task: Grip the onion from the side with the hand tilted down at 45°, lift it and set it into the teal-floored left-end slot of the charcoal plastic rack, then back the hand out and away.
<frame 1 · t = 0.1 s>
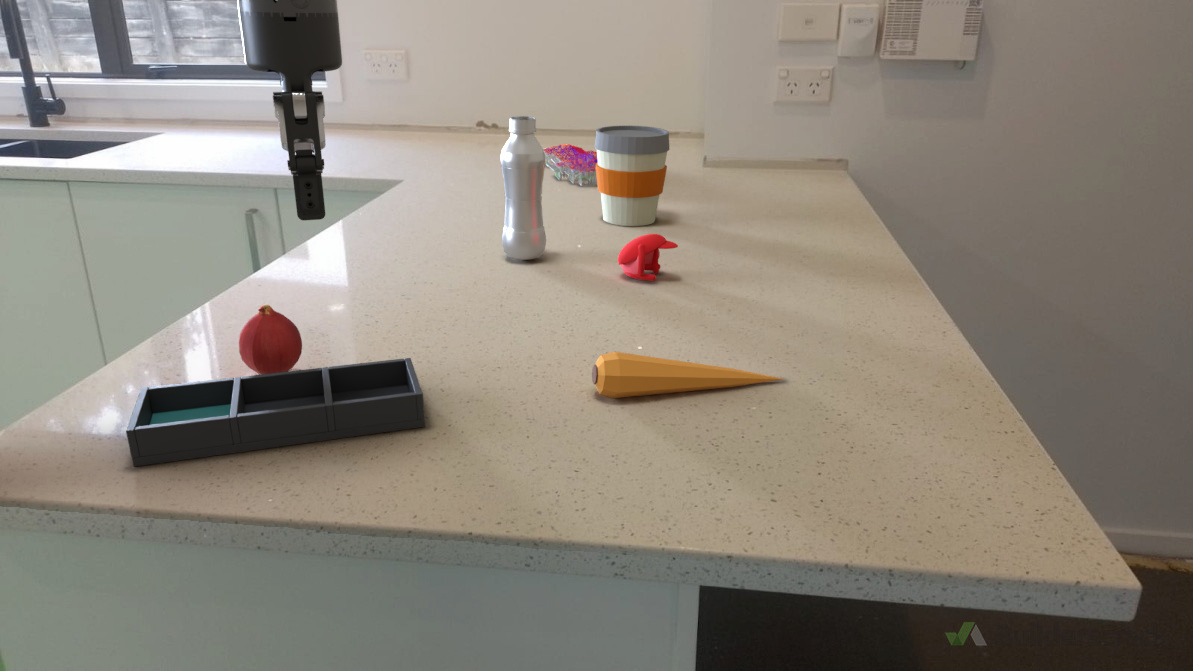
hand: (310, 206, 73), 18 cm above the worktop, tool pointing down, fingers open, 8 cm apart
reusable coffee cup: (629, 220, 145), on the worktop
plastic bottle: (524, 259, 123), on the worktop
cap: (646, 278, 116), on the worktop
rack: (286, 423, 75), on the worktop
onion: (275, 380, 84), on the worktop
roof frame: (579, 173, 181), on the worktop
carrot: (691, 391, 83), on the worktop
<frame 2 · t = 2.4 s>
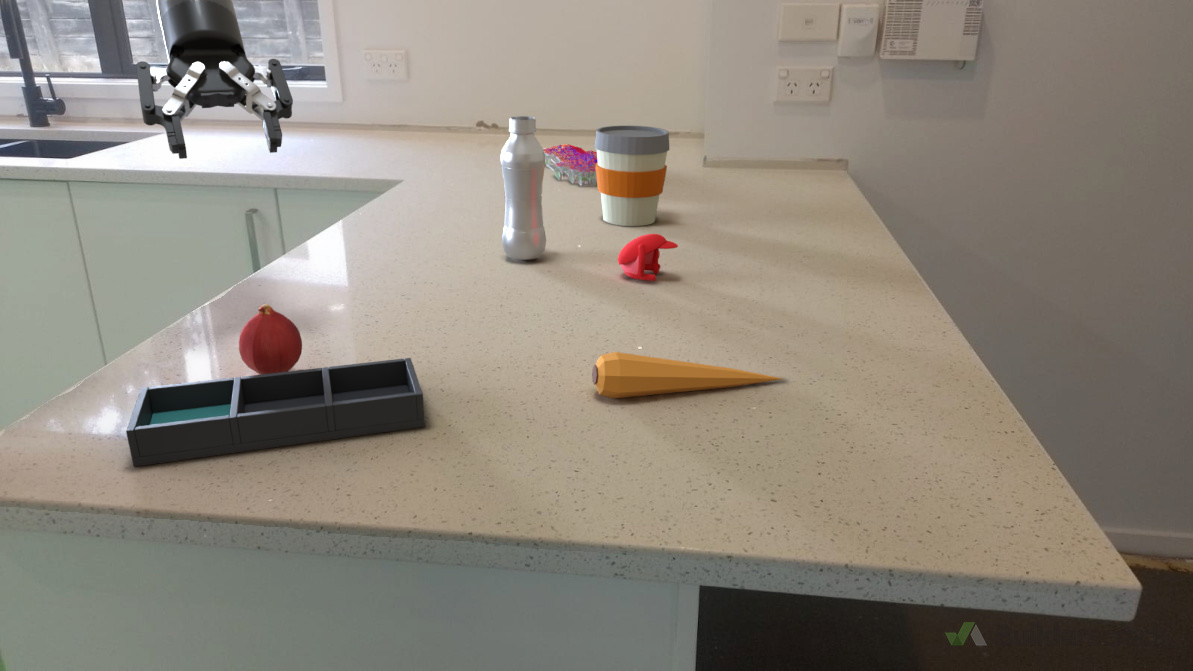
hand: (229, 151, 84), 21 cm above the worktop, tool tilted 45°, fingers open, 8 cm apart
nothing on the worktop moved.
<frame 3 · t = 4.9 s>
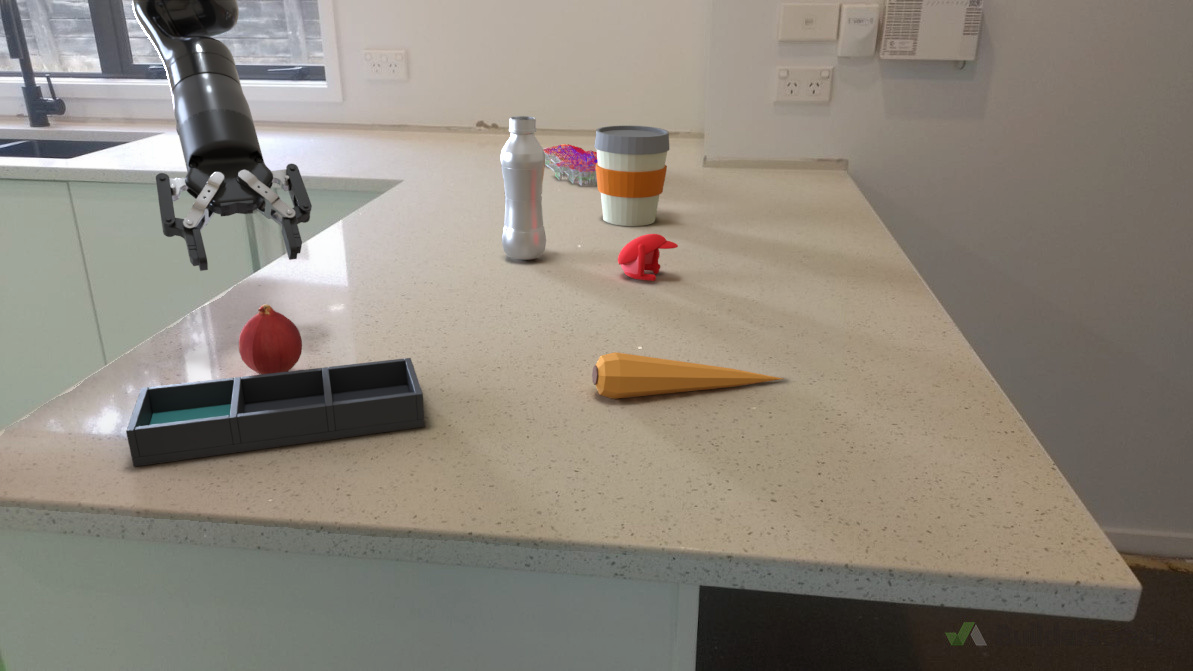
hand: (250, 261, 84), 10 cm above the worktop, tool tilted 45°, fingers open, 8 cm apart
nothing on the worktop moved.
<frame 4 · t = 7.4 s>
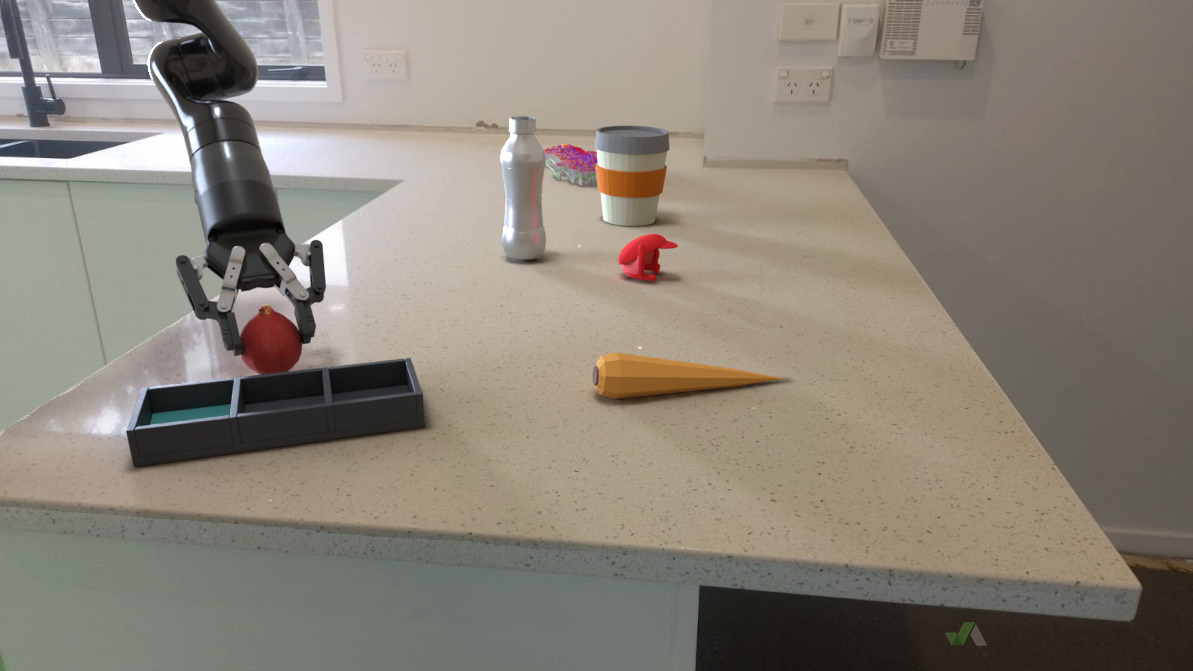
hand: (273, 345, 80), 4 cm above the worktop, tool tilted 45°, fingers closed on onion, 5 cm apart
onion: (275, 380, 84), on the worktop, touching gripper
everything else where it was.
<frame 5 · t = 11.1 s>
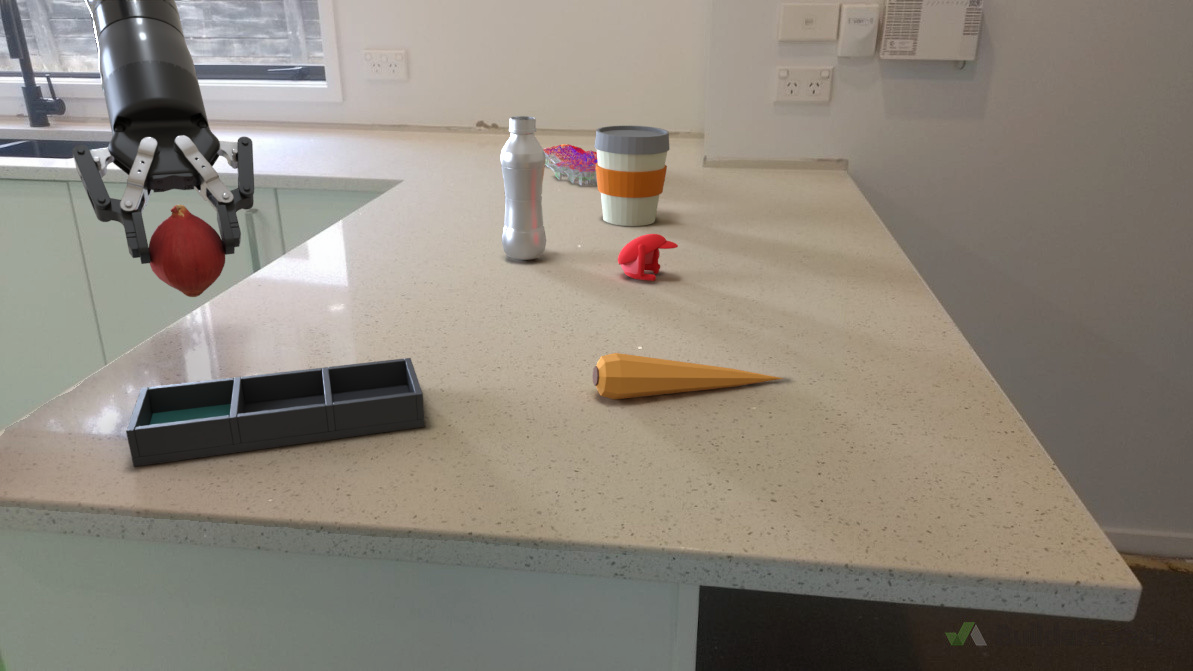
hand: (188, 253, 68), 16 cm above the worktop, tool tilted 45°, fingers closed on onion, 5 cm apart
onion: (194, 298, 71), point 11 cm above the worktop, touching gripper
everything else where it was.
when the fingers open (5 cm above the worktop, at t = 15.0 s): onion stays where it is, resting on rack.
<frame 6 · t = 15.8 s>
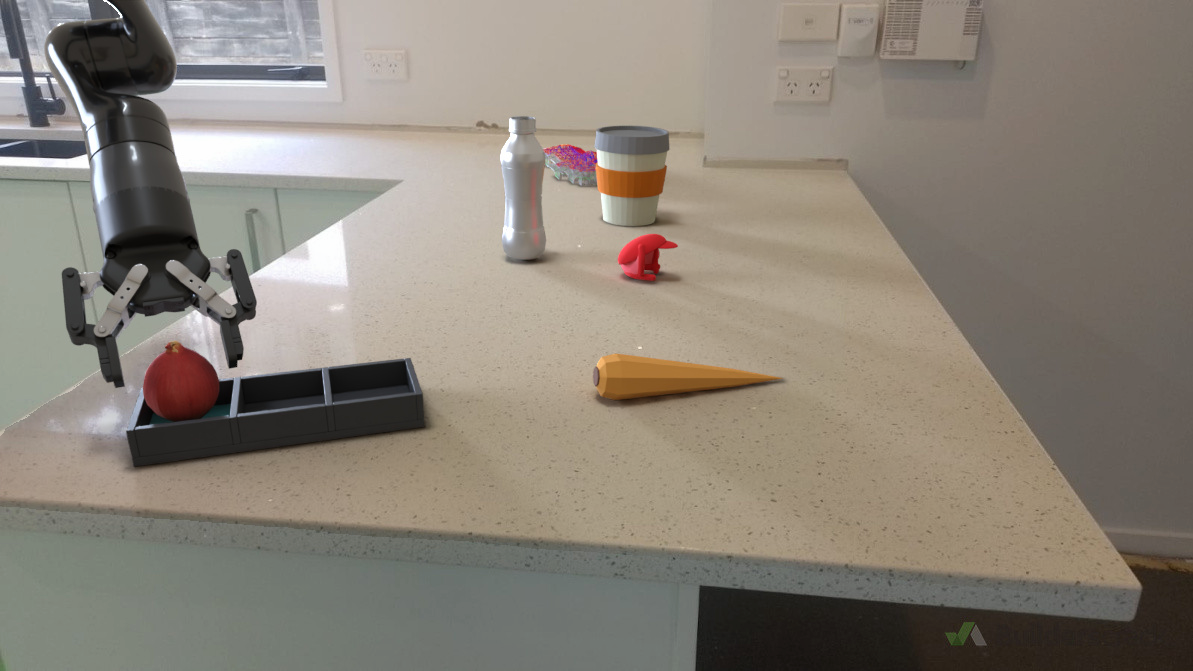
hand: (178, 374, 69), 6 cm above the worktop, tool tilted 45°, fingers open, 8 cm apart
onion: (189, 427, 72), point 1 cm above the worktop, touching rack
everything else where it was.
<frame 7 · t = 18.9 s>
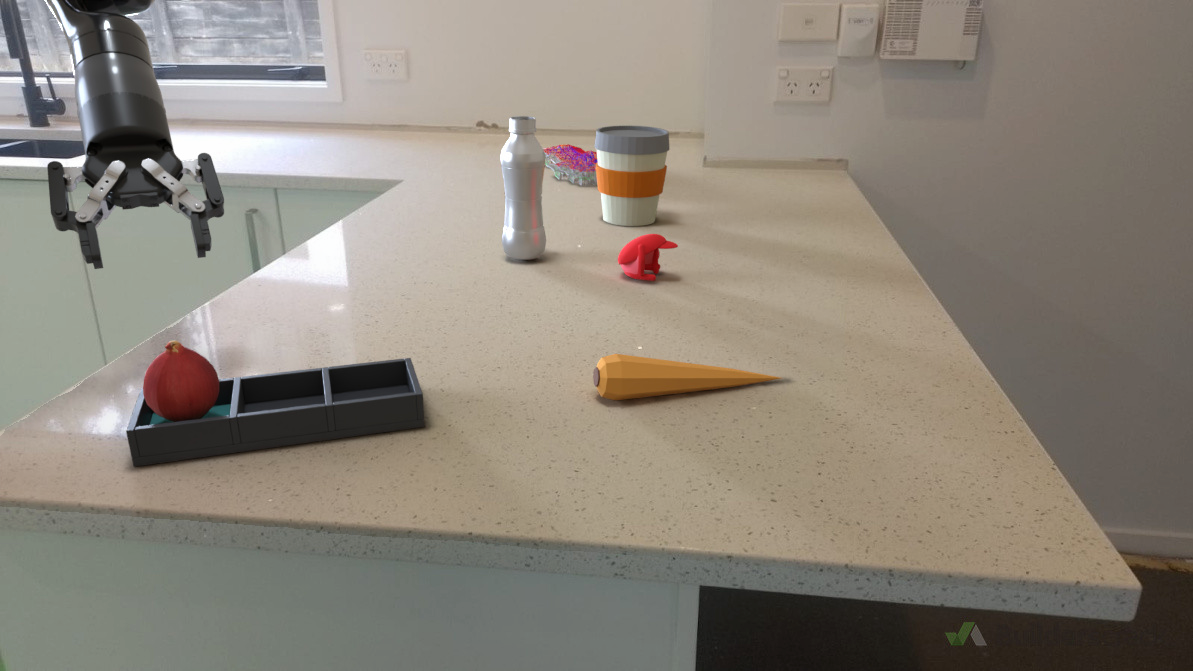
hand: (151, 259, 77), 13 cm above the worktop, tool tilted 45°, fingers open, 8 cm apart
nothing on the worktop moved.
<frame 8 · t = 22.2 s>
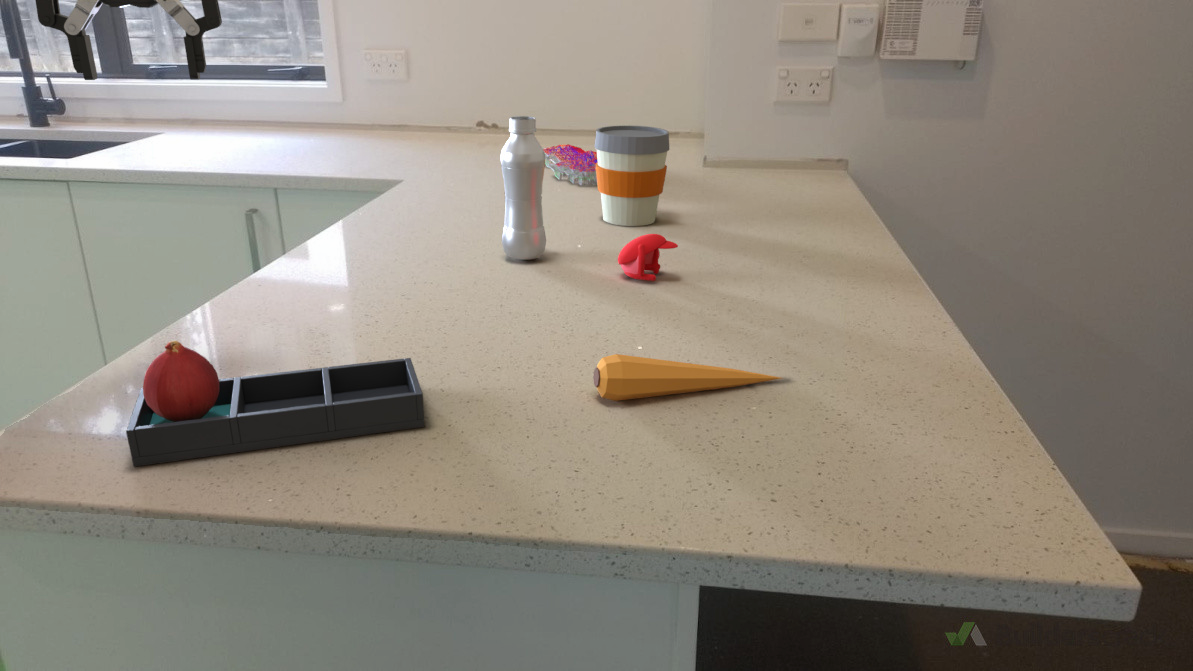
hand: (144, 79, 76), 28 cm above the worktop, tool pointing down, fingers open, 8 cm apart
nothing on the worktop moved.
at the end: onion inside the target area in the rack (0.3 cm from its centre), point 0.8 cm above the rack's base; the gripper is holding nothing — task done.
